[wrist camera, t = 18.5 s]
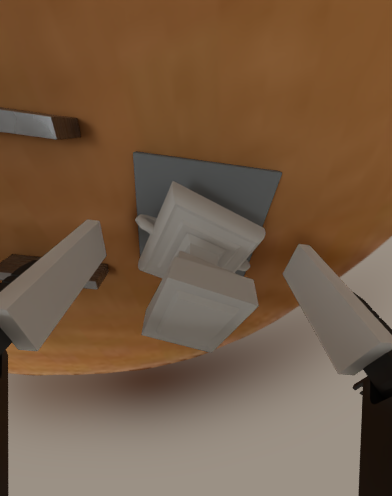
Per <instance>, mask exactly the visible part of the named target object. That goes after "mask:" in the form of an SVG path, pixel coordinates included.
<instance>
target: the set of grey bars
mask: <svg viewBox="0 0 392 496" xmlns="http://www.w3.org/2000/svg"><path fill="white" fill-rule="evenodd" d="M0 132H6V133H14V134H21V135H28V136H35V137H43V138H50V139H67V138H77V137H81V134H80V129H79V124H78V119H77V118H72V117H65V116H58V115H51V114H44V113H37V112H30V111H23V110H16V109H9V108H2V107H0ZM40 258H42V257H33V256H23V255H13V254H12V255H11V256H9V257H8V258H6V259H5V260H3V261H2V262H0V280H4V279H5V278H6V277H8V276H10V275H11V274H12V273H13V272H14V271H15V270H17V269H18V268H19V267H20V266H22V265H24V264H27V263H29V262H31V261H33V260H39V259H40ZM108 272H109V270H108V265H107V264H100V265H99V267H98V268H97V269H96V271H95V272H94V274H93V275H92V276H91V278H90V279H89V281H88V282H87V283H86V285H85V286H84V288H88V289H98V288H99V287H100V285H101V283H102V282H103V280H104V279H105V277H106V275H107V274H108Z"/></svg>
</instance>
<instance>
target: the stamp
mask: <svg viewBox="0 0 392 496" xmlns="http://www.w3.org/2000/svg"><path fill="white" fill-rule="evenodd" d="M135 221H136V223H137V224H138V225H139V227H140V228H141V229H143V230H145V231H147V232H148V233H149V234H150V236H149V238H148V240H147V243H146V245H145V247H144V250H143V252H142V254H141V257H140V259H139V263H138V268H139V270H141V271H143V272H146V273H149V274H152V275H154V276H157V277H160V278H162V281H161V283H160V285H159V287H158V289H157V290H156V292H155V294H154V296H153V298H152V300H151V302H150V304H149V306H148V307H147V309H146V313H145V318H144V324H143V330H142V335H144V336H148V337H152V338H156V339H159V340H163V341H167V342H171V343H175V344H179V345H183V346H187V347H191V348H195V349H198V350H202V351H206V352H210V353H212V352H213V351H214V350H215V349H216V348H217V347H218V346H219V345H220V344H221V343H222V342H223V341H224V340H225V339H226V338H227V337H228V336H229V335H230V334H231V333H232V332H233V331H234V330H235V329H236V328H237V327H238V326H239V325H240V324H241V323H242V322H243V321H244V320H245V319H246V318H247V317H248V316H249V315H250V314H251V313H252V312H253V311H254V310H255V309H256V308H257V307H258V306H259V305H258V300H257V295H256V290H255V285H254V280H253V279H250V278H246V277H243V276H240V275H238V274H235V272H236V271H237V270H241V271H247V270H248V269H249V268H250V264H249V262H248V261H247V260H246V259H247V258H248V257H249V255H250V254H251V253H252V252H253V251H254V250H255V248H256V247H257V246H258V245H259V244H260V243H261V241H262V240H263V239H264V237H265V234H266V233H265V228H263V227H261V226H259V225H257V224H255V223H253V222H251V221H249V220H247V219H245V218H244V217H242V216H240V215H238V214H236V213H234V212H232V211H230V210H228V209H226V208H224V207H222V206H220V205H219V204H217V203H215V202H213V201H211V200H209V199H207V198H205V197H203V196H201V195H199V194H197V193H195V192H194V191H192V190H190V189H188V188H186V187H184V186H182V185H180V184H178V183H176V182H174V181H173V182H172V184H171V186H170V189H169V191H168V193H167V196H166V198H165V200H164V203H163V205H162V207H161V210H160V212H159V214H158V217H157V218H155V217H151V216H148V215H143V214H140V215H139V216H138V217H136V219H135Z"/></svg>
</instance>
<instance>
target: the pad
mask: <svg viewBox="0 0 392 496" xmlns="http://www.w3.org/2000/svg"><path fill="white" fill-rule="evenodd" d="M133 160H134V174H135V189H136V203H137V217H138V216H139V215H140V214H143V215H148V216H151V217H155V218H157V217H158V214H159V212H160V210H161V207H162V205H163V203H164V200H165V198H166V196H167V193H168V191H169V189H170V186H171V184H172V182H173V181H174V182H176V183H178V184H180V185H182V186H184V187H186V188H188V189H190V190H192V191H194V192H195V193H197V194H199V195H201V196H203V197H205V198H207V199H209V200H211V201H213V202H215V203H217V204H219V205H220V206H222V207H224V208H226V209H228V210H230V211H232V212H234V213H236V214H238V215H240V216H242V217H244V218H245V219H247V220H249V221H251V222H253V223H255V224H257V225H259V226H261V227H262V226H263V223H264V221H265V218H266V215H267V213H268V210H269V207H270V205H271V202H272V199H273V197H274V194H275V191H276V188H277V186H278V183H279V180H280V178H281V175H282V173H281V172H280V171H275V170H267V169H260V168H253V167H246V166H238V165H231V164H224V163H216V162H209V161H202V160H195V159H187V158H180V157H173V156H165V155H158V154H151V153H144V152H133ZM138 232H139V247H140V257H141V254H142V252H143V250H144V247H145V245H146V243H147V240H148V238H149V236H150V234H149V233H148V232H147V231H145V230H143V229H141V228H140V227H139V225H138ZM252 253H253V252H252ZM252 253H251V254H250V255H249V257H248V258H247V259H246V260H247V261H248V262H249V261H250V258H251V256H252ZM245 272H246V271H241V270H237V271H236V272H235V274H238V275H240V276H243V277H244V275H245Z"/></svg>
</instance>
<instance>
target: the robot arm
mask: <svg viewBox="0 0 392 496" xmlns="http://www.w3.org/2000/svg"><path fill="white" fill-rule="evenodd" d="M106 256H107V255H106V250H105V245H104V240H103V235H102V230H101V225H100V221H96V220H86V221H85V222H84V223H82V224H81V225H80V226H79V227H78V228H76V229H75V230H74V231H73V232H72V233H70V234H69V235H68V236H67V237H66V238H64V239H63V240H62V241H61V242H60V243H58V244H57V245H56V246H55V247H54V248H52V249H51V250H50V251H49V252H48V253H46V254H45V255H44V256H43V257H42V258H40V259H39V260H33V261H31V262H29V263H27V264H24V265H22V266H20V267H19V268H18V269H17V270H15V271H14V272H13V273H12V274H11V275H10V276H8V277H6V278H5V279H4V280H3V281H2V283H0V496H8V354H7V352H6V348H7V347H8V346H9V345H10V344H11V343H13V344H14V345H15V346H16V347H17V349H18V350H29V351H38V350H39V349H40V347H41V346H42V345H43V343H44V342H45V340H46V339H47V338H48V336H49V335H50V333H51V332H52V331H53V329H54V328H55V326H56V325H57V324H58V322H59V321H60V320H61V318H62V317H63V315H64V314H65V313H66V311H67V310H68V308H69V307H70V306H71V304H72V303H73V301H74V300H75V299H76V297H77V296H78V294H79V293H80V292H81V290H82V289H83V288H84V286H85V285H86V283H87V282H88V281H89V279H90V278H91V276H92V275H93V274H94V272H95V271H96V269H97V268H98V267H99V265H100V264H101V262H102V261H103V260H104V258H105V257H106ZM283 276H284V278H285V279H286V281H287V283H288V285H289V287H290V288H291V290H292V292H293V294H294V296H295V297H296V299H297V301H298V303H299V305H300V306H301V308H302V310H303V312H304V314H305V315H306V317H307V319H308V321H309V323H310V324H311V326H312V328H313V330H314V332H315V333H316V335H317V337H318V339H319V341H320V342H321V344H322V346H323V348H324V350H325V351H326V353H327V355H328V357H329V358H330V360H331V362H332V364H333V366H334V367H335V369H336V371H337V373H338V374H345V375H355V374H357V373H358V372H360V371H361V370H364V371H365V373H366V374H367V375H368V376H367V377H366V378H364V379H362V380H361V381H359V382H357V383H356V384H354V386H353V389H354V390H357V389H358V388H360V387H363V391H361V392H360V394H361V395H363V400H362V424H361V448H360V473H359V474H360V475H359V496H392V329H391V328H390V327H389V326H388V325H387V324H386V323H385V322H384V321H383V320H382V319H381V318H379V316H378V315H377V313H376V312H375V311H372V308H371V307H370V306H369V305H368V304H367V303H366V302H365V301H364V300H363V299H362V298H360V297H359V296H358V295H356V294H355V293H354V292H352V291H351V290H350V289H349V288H348V287H347V286H346V285H345V284H344V282H343V281H342V280H341V279H340V278H339V277H338V276H337V275H336V274H335V273H334V271H333V270H332V269H331V268H330V267H329V266H328V265H327V264H326V263H325V262H324V260H323V259H322V258H321V257H320V256H319V255H318V254H317V253H316V252H315V251H314V250H313V248H312V247H311V246H310V245H304V244H298V246H297V248H296V250H295V252H294V253H293V255H292V257H291V259H290V261H289V263H288V265H287V267H286V268H285V270H284V272H283Z"/></svg>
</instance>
